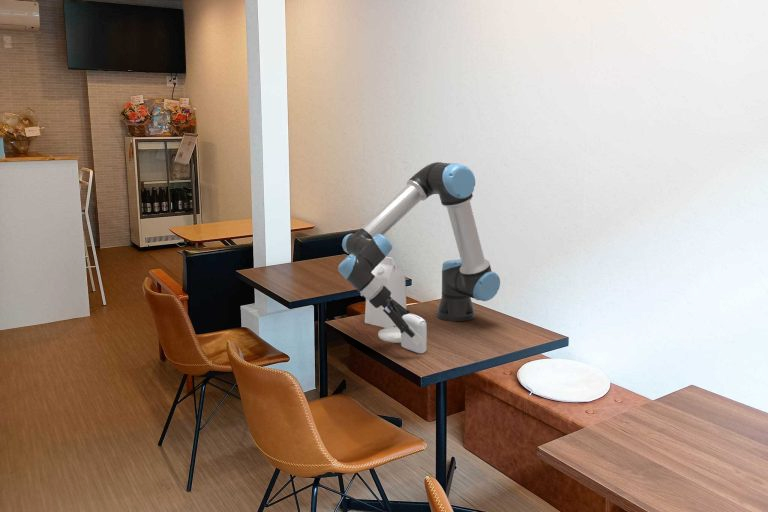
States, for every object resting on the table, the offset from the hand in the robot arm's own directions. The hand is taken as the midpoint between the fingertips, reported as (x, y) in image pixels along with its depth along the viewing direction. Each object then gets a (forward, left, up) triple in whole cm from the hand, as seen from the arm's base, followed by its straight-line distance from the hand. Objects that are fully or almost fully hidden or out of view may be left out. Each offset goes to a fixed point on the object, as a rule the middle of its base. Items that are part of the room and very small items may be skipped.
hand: (419, 335), depth 225 cm
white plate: (+7, -14, -5) cm, 16 cm away
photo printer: (+2, 0, -5) cm, 6 cm away
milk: (+12, -31, -5) cm, 34 cm away
